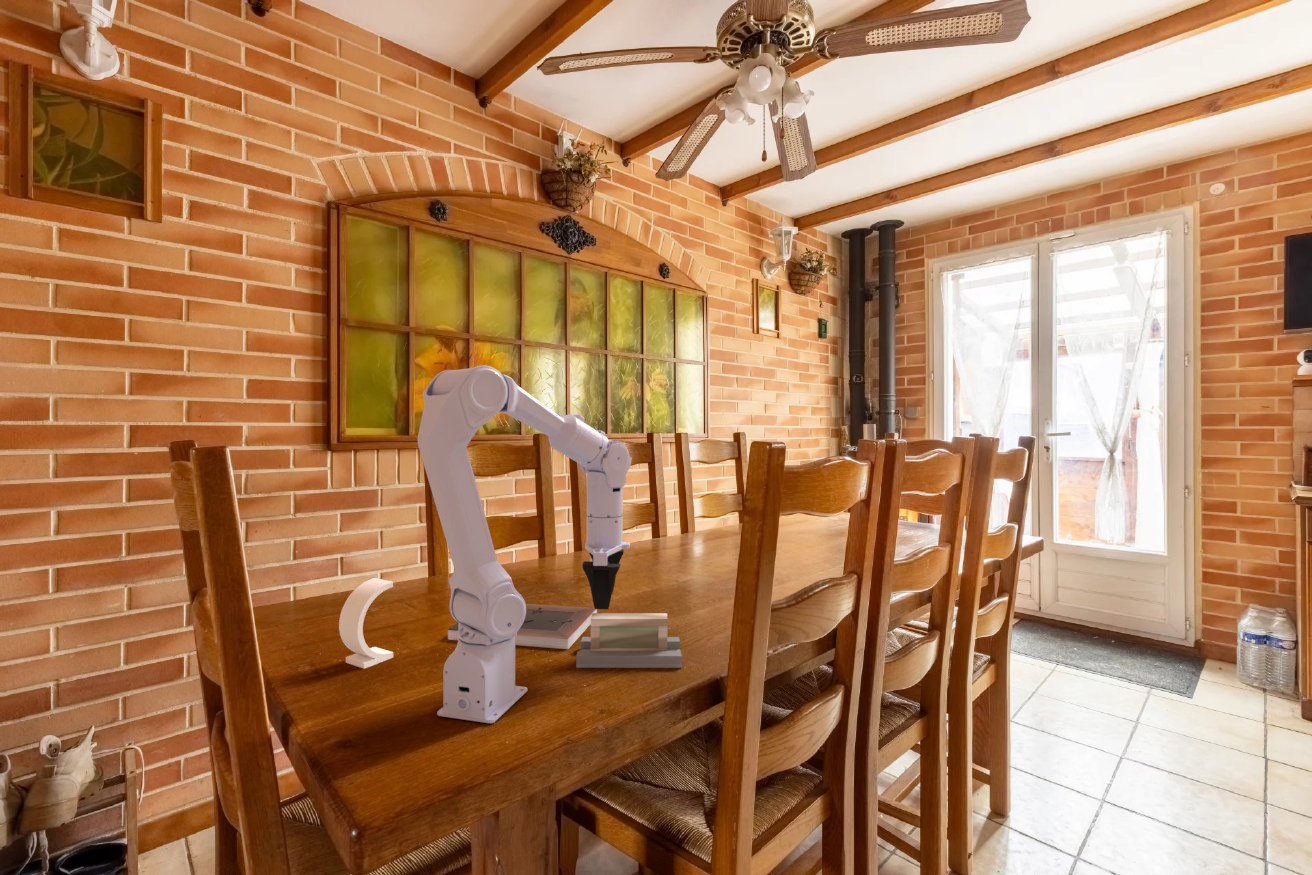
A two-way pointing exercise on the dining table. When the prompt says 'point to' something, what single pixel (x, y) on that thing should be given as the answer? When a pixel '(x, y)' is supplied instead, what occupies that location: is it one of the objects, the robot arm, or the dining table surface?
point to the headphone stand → (361, 624)
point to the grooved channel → (630, 657)
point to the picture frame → (548, 626)
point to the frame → (629, 631)
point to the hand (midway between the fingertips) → (603, 601)
